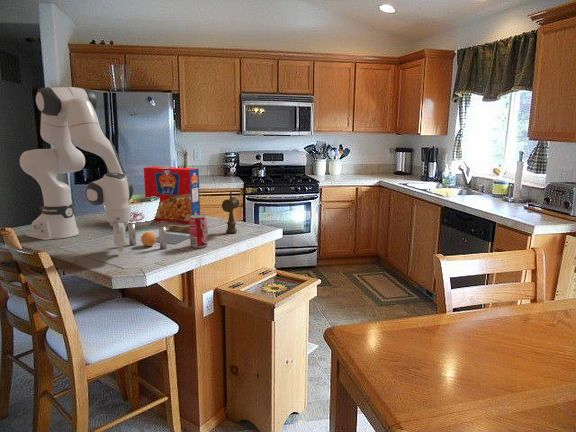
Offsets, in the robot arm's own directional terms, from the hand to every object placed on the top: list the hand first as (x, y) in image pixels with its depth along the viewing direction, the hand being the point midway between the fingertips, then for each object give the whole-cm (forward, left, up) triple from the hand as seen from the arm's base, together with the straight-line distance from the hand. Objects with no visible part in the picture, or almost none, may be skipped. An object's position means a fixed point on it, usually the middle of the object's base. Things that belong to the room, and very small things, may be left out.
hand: (121, 250), depth 165 cm
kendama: (+24, +47, -2) cm, 53 cm away
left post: (-5, +13, -2) cm, 14 cm away
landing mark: (+4, +27, -2) cm, 27 cm away
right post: (+10, +13, -2) cm, 17 cm away
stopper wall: (+4, +41, -2) cm, 41 cm away
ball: (+2, +14, +1) cm, 14 cm away
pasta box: (-17, +60, -2) cm, 62 cm away
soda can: (+22, +21, -2) cm, 30 cm away
